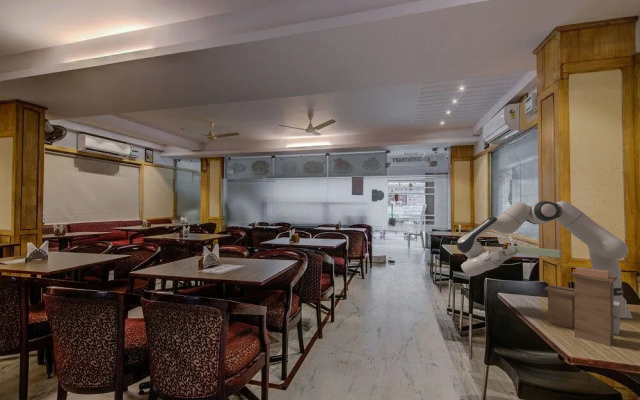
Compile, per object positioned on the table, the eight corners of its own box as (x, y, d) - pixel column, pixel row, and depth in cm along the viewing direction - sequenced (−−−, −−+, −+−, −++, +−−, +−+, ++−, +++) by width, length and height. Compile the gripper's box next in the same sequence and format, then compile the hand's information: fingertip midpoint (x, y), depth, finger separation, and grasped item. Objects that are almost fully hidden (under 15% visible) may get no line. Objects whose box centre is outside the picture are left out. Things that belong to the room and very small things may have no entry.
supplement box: (596, 330, 139) (596, 301, 139) (597, 326, 144) (597, 298, 144) (619, 335, 134) (619, 305, 134) (620, 331, 139) (620, 301, 139)
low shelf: (550, 318, 154) (550, 284, 154) (579, 325, 145) (579, 289, 145) (544, 322, 148) (544, 287, 148) (574, 329, 139) (574, 292, 140)
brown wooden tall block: (576, 331, 138) (576, 270, 138) (617, 341, 128) (617, 276, 128) (570, 336, 132) (571, 273, 133) (613, 347, 122) (613, 279, 123)
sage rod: (509, 251, 158) (509, 245, 158) (561, 257, 142) (561, 250, 142) (507, 251, 157) (507, 245, 157) (559, 257, 140) (559, 250, 140)
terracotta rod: (577, 273, 133) (577, 267, 133) (609, 277, 125) (609, 271, 126) (575, 273, 132) (575, 267, 132) (607, 278, 124) (608, 271, 124)
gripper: (478, 255, 158) (505, 244, 149) (496, 252, 171) (521, 241, 162) (485, 267, 156) (512, 256, 147) (502, 263, 169) (528, 252, 160)
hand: (517, 248), depth 155 cm, fingers closed on sage rod, 3 cm apart
